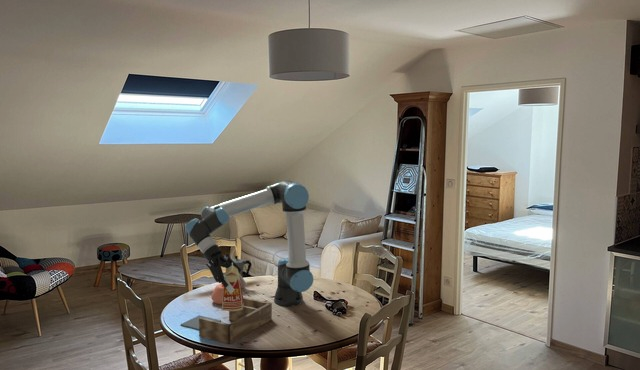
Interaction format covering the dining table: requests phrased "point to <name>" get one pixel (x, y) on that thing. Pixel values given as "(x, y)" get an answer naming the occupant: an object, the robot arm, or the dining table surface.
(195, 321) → the mat
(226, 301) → the milk carton
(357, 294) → the dining table surface
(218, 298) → the sugar bowl
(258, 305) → the lane rack
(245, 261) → the coffeepot
